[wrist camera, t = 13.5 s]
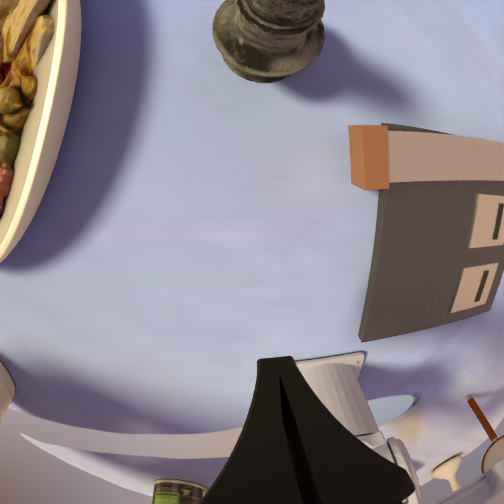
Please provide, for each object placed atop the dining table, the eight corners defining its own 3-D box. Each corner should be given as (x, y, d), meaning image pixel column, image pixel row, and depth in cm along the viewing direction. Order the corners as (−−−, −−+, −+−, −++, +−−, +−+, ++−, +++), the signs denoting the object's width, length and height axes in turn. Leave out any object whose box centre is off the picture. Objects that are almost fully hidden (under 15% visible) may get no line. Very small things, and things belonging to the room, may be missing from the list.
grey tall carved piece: (299, 7, 13) (373, -96, 2) (315, 83, 16) (429, 33, 5) (210, 15, 13) (186, -104, 2) (223, 93, 16) (205, 27, 5)
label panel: (484, 306, 25) (493, 314, 23) (358, 335, 24) (365, 349, 22) (517, 152, 18) (530, 156, 16) (381, 123, 17) (394, 123, 15)
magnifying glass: (449, 412, 35) (491, 493, 17) (447, 410, 34) (491, 493, 16) (485, 381, 33) (535, 457, 15) (485, 378, 32) (536, 456, 14)
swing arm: (351, 183, 16) (364, 190, 15) (348, 125, 15) (362, 125, 13) (513, 179, 17) (528, 185, 15) (514, 141, 15) (530, 145, 13)
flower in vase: (465, 449, 52) (491, 503, 29) (444, 466, 56) (466, 518, 34) (441, 460, 50) (467, 521, 27) (419, 477, 55) (440, 534, 32)
